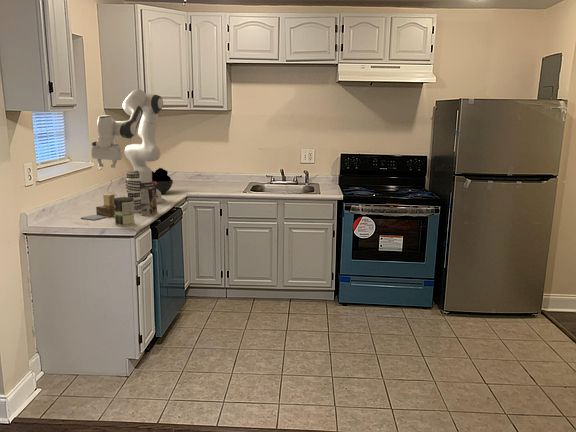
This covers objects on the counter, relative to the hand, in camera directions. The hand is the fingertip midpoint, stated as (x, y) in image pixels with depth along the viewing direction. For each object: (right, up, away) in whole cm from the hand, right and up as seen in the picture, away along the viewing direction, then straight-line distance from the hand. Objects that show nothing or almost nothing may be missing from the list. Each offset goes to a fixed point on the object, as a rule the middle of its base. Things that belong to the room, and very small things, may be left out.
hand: (107, 167), depth 297 cm
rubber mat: (-6, -30, -5) cm, 31 cm away
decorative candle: (+11, -25, +18) cm, 33 cm away
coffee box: (+23, -28, +8) cm, 37 cm away
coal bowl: (+10, -12, +82) cm, 84 cm away
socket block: (0, -28, +6) cm, 28 cm away
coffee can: (+16, -33, -18) cm, 41 cm away
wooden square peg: (0, -28, +6) cm, 28 cm away
